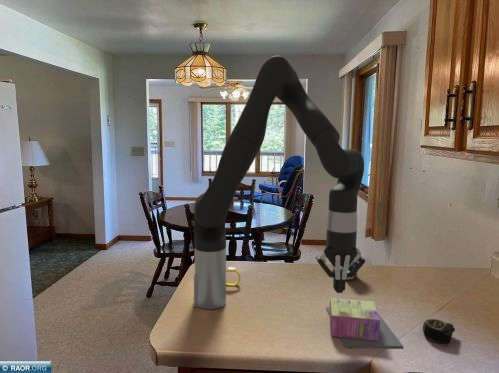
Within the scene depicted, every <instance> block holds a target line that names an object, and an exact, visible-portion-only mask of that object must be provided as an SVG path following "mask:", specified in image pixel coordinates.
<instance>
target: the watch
mask: <svg viewBox="0 0 499 373" xmlns="http://www.w3.org/2000/svg"><path fill="white" fill-rule="evenodd" d="M227 272H231V273H232V272H233V273H237V276H238V280H237V281H236V282H235V283H228V282H226V286H230V287H236V286H238V285H239V283H240V281H241V272H240V271H239V270H237V268H236V267H234V266H229V267H227V268H226V273H227Z"/></svg>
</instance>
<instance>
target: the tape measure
mask: <svg viewBox="0 0 499 373" xmlns="http://www.w3.org/2000/svg"><path fill="white" fill-rule="evenodd" d="M455 330H456V328H455V327H454V325H453V324H452V323H449V322H447V323H446V322H445V321H443V320H440V319H436V318H429V319H426V320H425V321H424V322H423V325H422V333H423V335H424V336H425V337H426V339H428V340H431V341H433V342H435V343H436V342H437V343H440V344H446V345H449V344H450V343H451V342H452V336H453V333H455V332H456V331H455Z"/></svg>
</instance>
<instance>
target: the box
mask: <svg viewBox="0 0 499 373" xmlns="http://www.w3.org/2000/svg"><path fill="white" fill-rule="evenodd" d="M329 307H330V312H329V314H328V316H329V317H328V318H329V328H330V336H331V337H337V338H340V337H347V338H357V339H366V340H375V341H379V336H380V318H379V316H378V314H379V313H378V311H377V307H376V304H375V301H373V300H372V301H370V300H358V299H357V300H355V299H343V298H333V297H330V298H329Z"/></svg>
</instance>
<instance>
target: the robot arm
mask: <svg viewBox="0 0 499 373" xmlns="http://www.w3.org/2000/svg"><path fill="white" fill-rule="evenodd" d="M259 69H260V70H259V71H258V74H257V76H256V78H255V81H254V84H253V87H252V89H251V92H250V94H249V97H248V99H247V101H246V104H245V105H244V108H242V112H241V113H240V116H239V117H238V120H237V122H236V124H235V125H234V127H233V129H232V131H231V133H230V135H229V137H228V138H227V141H226V143H225V145H224V148H223V150H222V153H221V156H220V158H219V162H218V165H217V168H216V171H215V174H214V177H213V179H212V181H211V183H210V184H209V186H208V187H207V188H206V191H205V192H203V193H201V194H200V195H199V196H198V197H197V198H196V200H195V201H194V207H193V208H194V209H193V212H194V214H193V215H194V218H193V220H194V221H193V223H194V224H193V225H194V229H193V232H194V274H193V307H194V308H199V309H203V310H216V309H220V308H222V307H224V306H225V305H226V303H227V285H226V283H227V272H226V270H227V234H226V217H227V216H228V212H229V210H230V207H231V205H232V203H233V201H234V197H235V195H236V193H237V190H238V188H239V186H240V185H241V183H242V182H243V180H244V178H245V176H246V175H247V174H248V172H249V169H250V168H251V167H252V164H253V162H254V161H255V159H256V158H257V155H258V154H259V152H260V149H261V148H262V145H263V144H264V141H265V138H266V137H265V136H266V134H267V133H266V132H267V126H268V119H269V113H270V110H271V107H272V105H273V103H274V102H275V100H276V98H277V99H278V100H280V102H282V104H284V105H285V106H286V107H287V108H288V110H289V111H290V112H291V113H292V114H293V116H294V118H295V120H296V121H297V123H298V125H299V127H300V129H301V131H303V133H304V134H305V136H306V137H307V139H308V140H309V141H310V143H311V144H312V145H313V147H314V148H315V150H316V153H317V155H318V156H317V157H318V158H319V160H320V164H321V165H322V167H323V169H324V171H326V173H327V174H328V175H329V176H331V177H332V178H335V179H337V182H336V185H334V186H333V187H331V189H330V190H329V194H328V211H327V216H326V219H327V220H326V237H325V238H326V240H325V242H326V243H325V245H326V246H325V248H324V250H323V253H322V254H321V255H317V256H316V257H315V260H316V261H317V263H318V264H319V265H320V267H321V269H322V270H323V271H324V272H325V273H326V274H327V276H328V277H329V278H333V282H332V283H333V284H332V288H333V290H334V291H335V292H336V293H337V294H343V293H344V292H345V291H346V282H347V281H346V278H348V277H353V276H354V275H355V274H356V272H357V271H359V270H360V269H361V268H362V267H363V265H364V264H366V259H365V258H364V257H363V256H362V255H361V256H359V255H358V252H357V250H356V248H357V238H358V237H357V236H358V194H359V191H360V188H361V184H362V180H363V176H364V174H365V161H364V157H363V155H362V153H361V152H360V150H359V151H358V150H357V149H353V148H347V149H346V148H345V149H343V147H341V145H340V144H339V142H340V139H341V138H340V137H341V136H340V133H339V132H338V130H337V129H336V127H335V126H334V125H333V123H332V122H331V120H329V118H328V117H327V115H325V113H324V112H323V111H322V110H321V109H320V108H319V107H318V106H317V105H316V104H315V103H314V102H313V100H312V98H310V97H309V95H308V94H307V92H306V90H305V88H304V86H303V84H302V83H301V81H300V78H299V77H298V74H297V72H296V70H295V68H294V67H293V66H292V65H291V63H290V62H289V61H288V60H287V59H286V58H285V57H284V56H281V55H274V56H271V57H270V58H267V60H266V61H265V62H264V63H263V64H262V66H261V67H260V68H259ZM327 260H328V261H329V263H330V264H331V267H332V270H331V269H330V268H329V267H328V265H327V264H326V263H327ZM353 260H354V262H353V264H352V265H351V266H350V267H349V265H350V264H351V262H352V261H353ZM348 267H349V268H348ZM357 273H358V272H357Z"/></svg>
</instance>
